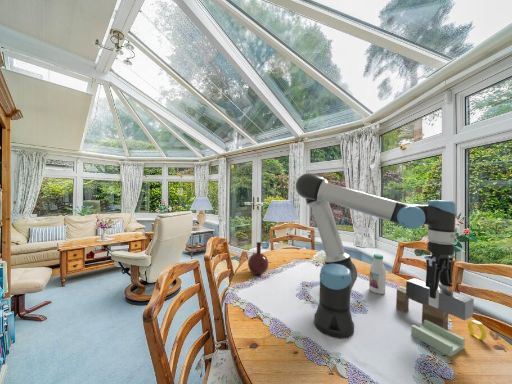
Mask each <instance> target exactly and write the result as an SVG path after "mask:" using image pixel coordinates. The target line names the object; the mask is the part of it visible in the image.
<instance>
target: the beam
mask: <svg viewBox="0 0 512 384" xmlns="http://www.w3.org/2000/svg"><path fill="white" fill-rule="evenodd" d="M410 300H411V301H413V302H417V303H418V304H421V305H422V307H421V309H422V310H421V311H422V312H421V322H422V323H424V320H428V321H430V322H432V323H434V324H436V325H438V326H440V327H442V328H444V329H446V330H448V328H449V314H448V313H446V312H444V311H441V310H439V309H437V308H434V307H432V306H430V305H427V304H425V303H423V302H420V301H418V300H416V299H413V298H411V297H409V296H406V288H403V287H400V288H396V301H395V309H398V310H399V311H401V312H408V311H409V309H410V308H409V305H410Z"/></svg>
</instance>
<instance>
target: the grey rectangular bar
mask: <svg viewBox="0 0 512 384" xmlns="http://www.w3.org/2000/svg"><path fill="white" fill-rule="evenodd" d="M405 283H406V285H405V289H406V296H409V297H411V298H413V299H416V300H418V301H420V302H423V303H425V304H427V305H429V287H426V281H425V280H422V279H418V278H416V277H414V278H411V279H407V280H406V281H405ZM438 290H439V308H437V309H439V310H441V311H444V312H446V313H448V315H451V316H453V317H456V318H458V319H460V320H462V321H467V320H469V319H470V318H473V316H474V301H475V300H474V298H473V297H469V296H467V295H464V294H461V293H458V292H456V291H452V290H450V289H449V290H447V289H444V288H442V287H439V285H438ZM430 306H431V305H430ZM432 307H433V306H432ZM434 308H435V307H434Z"/></svg>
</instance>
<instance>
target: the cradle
mask: <svg viewBox="0 0 512 384" xmlns="http://www.w3.org/2000/svg"><path fill="white" fill-rule="evenodd" d="M410 329H411V331H410V333H411V336H413V337H414V338H417V339H418V340H420V341H421V342H423V343H425V344H427V345H428V346H430V347H432V348H434V349H435V350H436V351H438V352H441V353H442V354H444V355H446V356H448V357H450V358H451V357H453V356H454V355H456V354H458V353H459V352H461V351H462V350H464V349H465V345H466V342H465V341H466V338H465V337H462V336H461V335H459V334H457V333H454V332H452V331H450V330H448V329H447V330H446V329H444V328H442V327H440V326H438V325H436V324H434V323H432V322H430V321H428V320H424V322H423V325H421V326H417V325H415V324H412V325H411V328H410Z"/></svg>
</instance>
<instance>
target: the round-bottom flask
mask: <svg viewBox="0 0 512 384" xmlns="http://www.w3.org/2000/svg"><path fill="white" fill-rule="evenodd" d="M261 249H262V242H259V241H258V242H256V252H255V253H252V255H250V256H249V258H248V262H247V266H248V269H249V271H250V272H251V273H252V274H255V275H262V274H264V273H266V271H267V270H268V268H269V259H268V258H267V256H266V255H265V254H263V253H261V251H262V250H261Z"/></svg>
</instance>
